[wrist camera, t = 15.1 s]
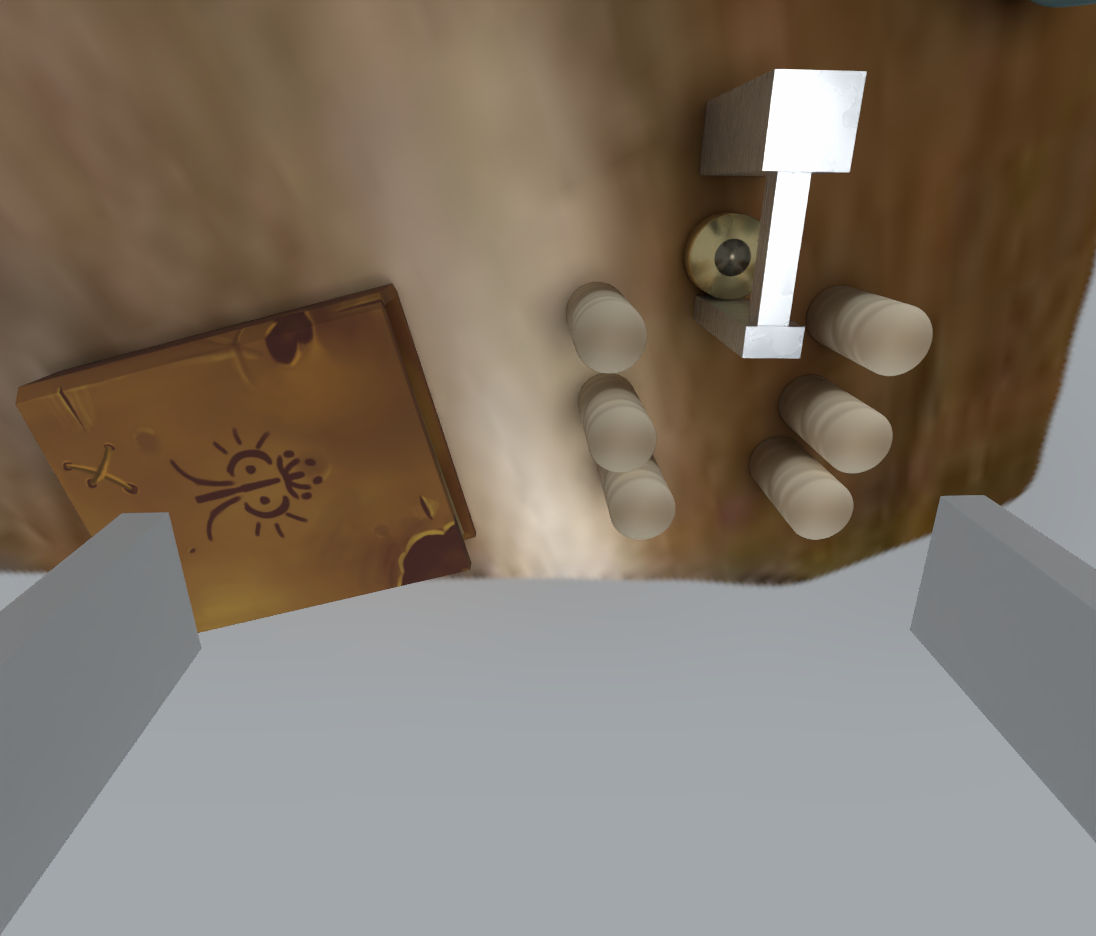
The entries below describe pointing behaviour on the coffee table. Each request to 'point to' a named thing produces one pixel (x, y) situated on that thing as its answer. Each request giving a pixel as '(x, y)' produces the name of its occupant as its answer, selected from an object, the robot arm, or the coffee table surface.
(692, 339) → the coffee table surface
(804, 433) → the posts
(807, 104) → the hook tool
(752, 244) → the brass round knob
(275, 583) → the diary
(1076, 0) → the flower pot
